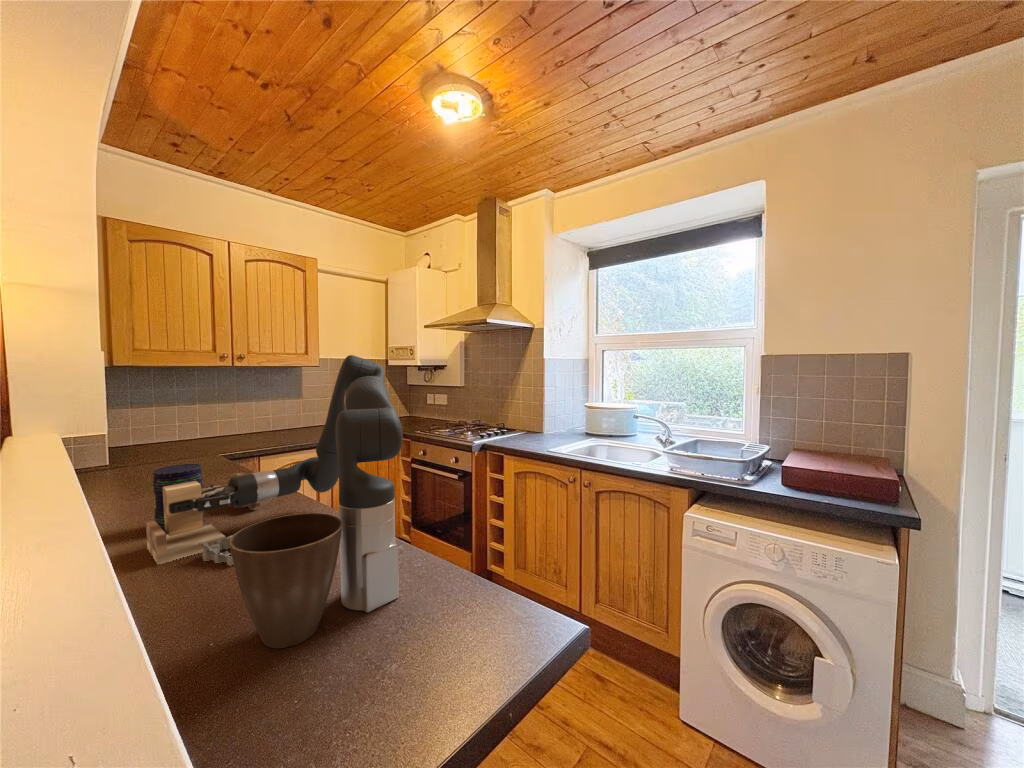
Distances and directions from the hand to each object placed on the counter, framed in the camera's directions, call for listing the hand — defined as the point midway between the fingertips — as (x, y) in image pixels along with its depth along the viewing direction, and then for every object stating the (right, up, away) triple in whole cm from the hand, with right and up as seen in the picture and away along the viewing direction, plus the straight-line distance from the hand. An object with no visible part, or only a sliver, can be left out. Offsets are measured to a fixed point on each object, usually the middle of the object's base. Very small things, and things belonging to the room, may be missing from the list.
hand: (167, 506), depth 91 cm
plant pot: (+42, -11, -28) cm, 52 cm away
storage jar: (-9, -10, +15) cm, 21 cm away
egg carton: (+15, -11, -2) cm, 19 cm away
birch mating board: (+2, -10, +3) cm, 11 cm away
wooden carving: (-2, -9, +30) cm, 31 cm away
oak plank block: (+2, -6, +2) cm, 7 cm away
